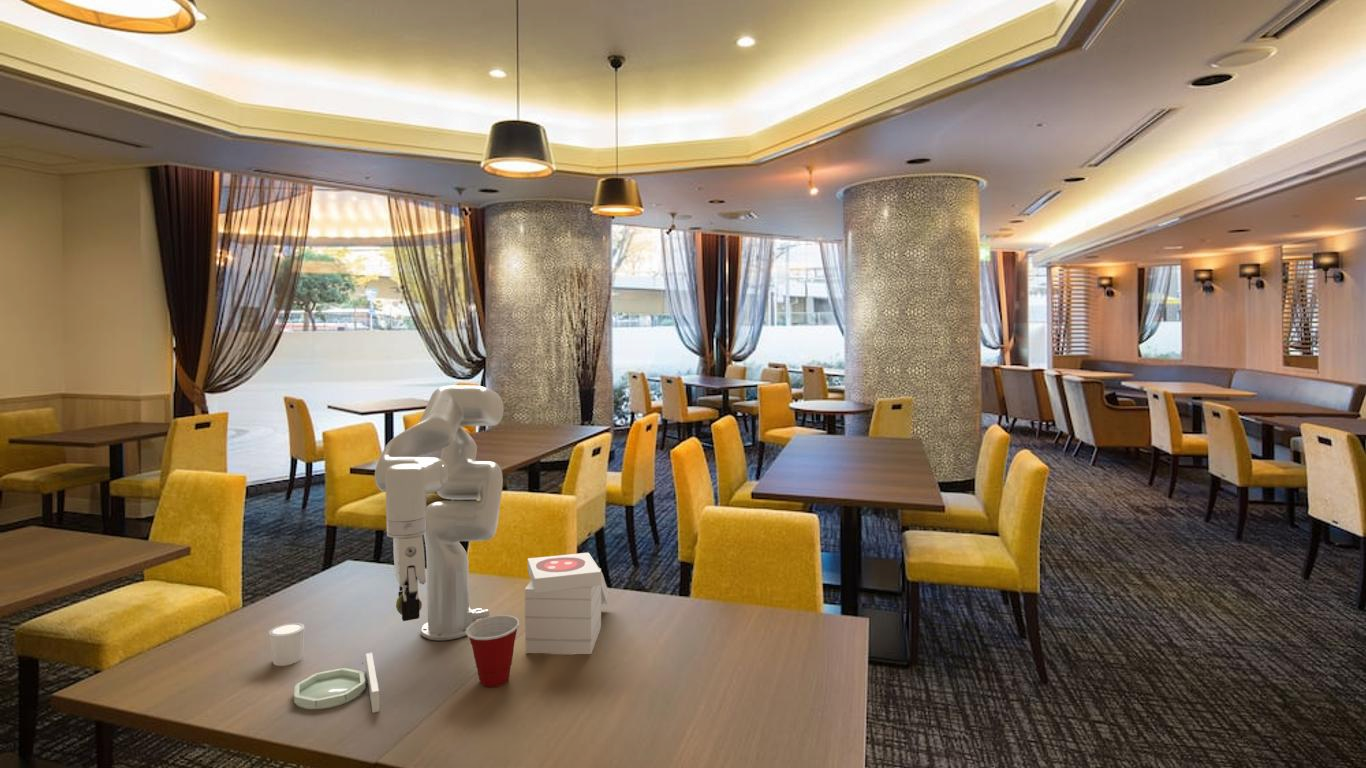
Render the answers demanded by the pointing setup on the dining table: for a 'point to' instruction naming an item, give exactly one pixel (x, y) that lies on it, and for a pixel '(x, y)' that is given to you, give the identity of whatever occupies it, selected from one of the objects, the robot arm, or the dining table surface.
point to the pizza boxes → (563, 604)
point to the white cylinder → (287, 643)
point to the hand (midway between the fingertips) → (409, 613)
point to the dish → (329, 688)
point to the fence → (372, 682)
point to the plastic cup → (493, 647)
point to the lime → (399, 604)
